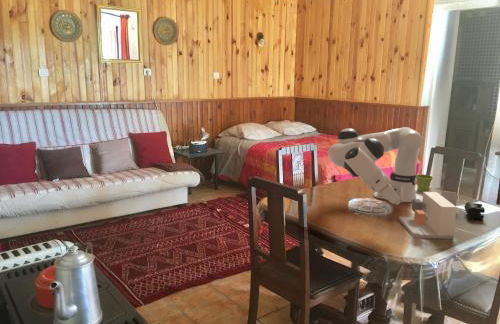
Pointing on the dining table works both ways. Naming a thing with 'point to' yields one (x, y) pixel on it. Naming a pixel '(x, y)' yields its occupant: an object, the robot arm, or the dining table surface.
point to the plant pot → (423, 182)
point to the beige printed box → (450, 196)
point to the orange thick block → (420, 217)
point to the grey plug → (417, 205)
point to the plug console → (433, 218)
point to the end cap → (474, 211)
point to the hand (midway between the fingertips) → (397, 202)
